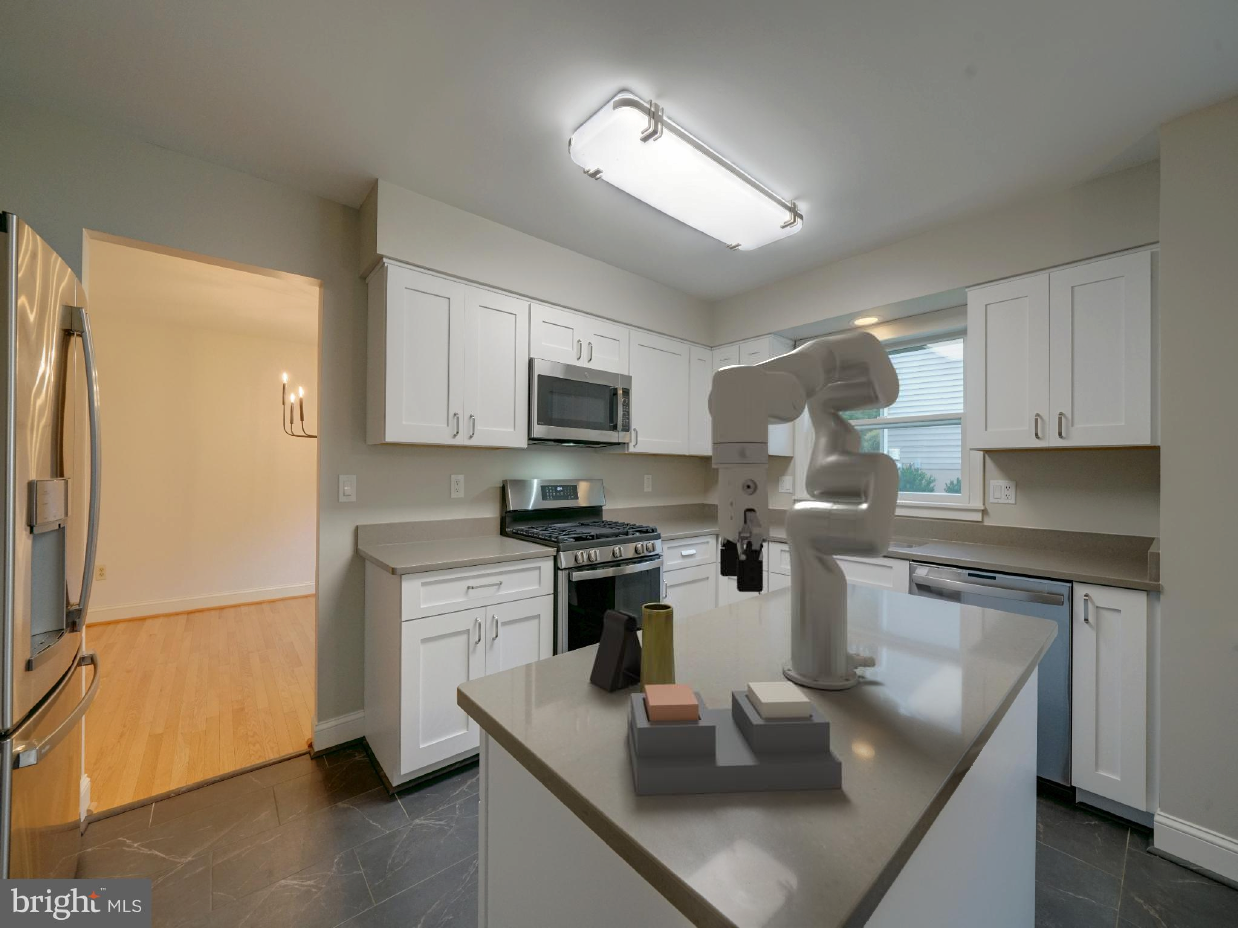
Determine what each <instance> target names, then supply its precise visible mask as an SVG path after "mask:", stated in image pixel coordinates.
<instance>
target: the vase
mask: <svg viewBox="0 0 1238 928" xmlns="http://www.w3.org/2000/svg"><path fill="white" fill-rule="evenodd" d="M641 607H642V608H641V648H642V658H641V675H640V684H639V689H638V690H639V693H645V685H666V684H676V671H675V667H676V665H675V649H674V607H673V605H671V604H669V603H664V602H650V603H646V604H643V605H642V606H641Z"/></svg>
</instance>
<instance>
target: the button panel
mask: <svg viewBox="0 0 1238 928" xmlns="http://www.w3.org/2000/svg"><path fill="white" fill-rule="evenodd" d="M693 693H694V695H695V698H696V700H697V702H698V704H699V720H686V721H650V722H648V719H647V715H646V711H645V693H640V692H639V693H638V692H635V693H634V692H632V693H631V694H630V711H629V710H627V737H628V745H629V751H630V758H631V765H632V772H633V779H634V780H633V781H634V786H635V792H636V796H655V795H658V796H659V795H681V794H682V795H683V794H684V795H685V794H710V793H713V794H714V793H740V792H741V793H742V792H766V791H767V792H768V791H770V792H771V791H794V790H796V791H797V790H820V789H821V790H822V789H825V790H826V789H842V788H843V772H842V771H843V767H842V766H843V765H842V764H843V762H842V760H840V758H839V757H838V756H837V755H836V753H834V751H833V750H832V749H831V725H830V723H831V722H830V721H829V720H828V719H827V717H825V715H824V714H823V713H821V712H820V710H819V709H818V708H817V707H816V706H815V705H814V704H813V703H812V702H811V701H810V717H794V718H760V716H759V715H758V713H757V712H756V710H755V709H754V708H753V706H752V705H751V703H750V702H749V700H748V690H731V708H708V707H707V705H706V703H705V701H704V698H703V697H702V695H701V693H700V691H693Z"/></svg>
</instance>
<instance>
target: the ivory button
mask: <svg viewBox="0 0 1238 928" xmlns="http://www.w3.org/2000/svg"><path fill="white" fill-rule="evenodd" d="M747 691H748V700H749V702H750V703H751V705H752V706H753V708H754V709H755V710H756V712H757V713H758V715H759V716H760V718H794V717H810V702H811V701H810V700H809V699H808V697H807V696H806V695H804V694H803V692H802V691H800V689H799V688H798V687H797V686H796V685H795V684H794V682H793V681H761V682H759V681H755V682H752V681H751V682H747Z"/></svg>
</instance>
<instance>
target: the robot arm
mask: <svg viewBox="0 0 1238 928" xmlns="http://www.w3.org/2000/svg"><path fill="white" fill-rule="evenodd" d="M899 395H900V380H899V376H898V372H897V371H896V368H895V366H894V365H893V362H892V360H891V358H890V357H889V354H888V352H887V350H886V349H885V346H884V345H883V343H882V342H881V341H880V340H879V338H877V337H876V336H875V335H874V334H872V333H871V332H868V331H857V332H855V331H854V332H851V333H844V334H838V335H831V336H826V337H820V338H817V339H814V340H810V341H809V342H806V343H805V344H803V345H801V346H799V347H797V348H796V349H793V350H792V351H790V352H788V353H787V354H782V355H780V356H776V357H773V358H771V359H768V360H766V361H762V362H759V363H757V364H754V365H752V364H751V365H749V364H740V365H739V364H738V365H730V366H725V367H722V368H719V369H717V370H716V371H715V372H714V374H713V376H712V380H711V388H710V392H709V394H708V398H707V409H708V413H709V416H710V417H711V468H712V469H718V481H717V484H718V486H717V488H718V490H717V491H718V493H717V527H718V533H719V535H720V536H721V539H720V542H719V543H720V549H719V551H720V553H719V555H720V556H719V560H720V562H719V564H720V565H719V567H720V568H719V570H720V571H719V575H720V576H721V577H736V590H737V591H738V592H740V593H761V592H763V590H764V552H763V548H764V544H765V543H766V544H767V543H768V542H769V540H770V539H771V538H770V537H771V535H770V533H771V530H770V508H769V491H768V483H767V482H768V481H767V475H766V469H768V468H769V426H773V425H775V426H776V425H777V426H778V425H784V424H789V423H792V422H794V421H796V420H797V419H799V418H800V417H801V416H802V414H803V413H804V411H805V409H806V406H807V412H808V415H809V418H810V420H811V421H810V422H811V424H812V428H813V432H814V443H813V447H812V451H811V453H810V454H811V455H810V458H809V462H808V466H807V470H806V474H805V481H804V489H805V492H806V493H807V495H808V496H809V497H810V498H811V499H813V500H804V501H803V500H802V501H799V502H796V503H795V504H793V505H791V506H790V507H789V508H788V509H787V512H786V515H785V516H784V529H785V531H784V532H785V537H786V542H787V547H788V548H787V549H788V554H789V565H790V567H789V568H790V655H791V656H790V659H787V660H785V662H783V663H782V666H781V667H782V673H783V675H784V676H785V677H786V678H787V679H789V680H790V681H791V682H793V683H796V684H799V685H802V686H805V687H809V688H814V689H818V690H833V691H834V690H835V691H838V690H845V689H849V688H852V687H855V686H856V684H857V683H858V673H857V672H856V671H855V670H858V669H859V668H874V667H875V666H876V660H875V658H874V656H873V655H861V654H860V653H859V652H850V651H848V650H849V649H848V643H849V642H848V582H847V576H846V574H845V572H844V570H843V568H842V567H841V566H840V564H839V562H837V560H836V559H835V558H834V557H835V556H836V557H837V556H841V557H850V558H858V559H879V558H882V557H883V556H885V555H886V554H887V553H888V551H889V549H890V547H891V541H892V538H893V531H894V524H895V516H896V510H897V504H898V496H899V490H900V489H899V488H900V486H899V485H900V473H899V468H898V464H897V463H896V461H895V459H894V458H893V457H891V456H890V455H888V454H887V453H884V452H877V451H874V452H873V451H868V452H867V451H866V452H865V451H864V452H863V451H862V452H861V447H862V437H861V435H860V433H859V431H858V430H857V429H856V428H855V426H854V425H853V424H852V423H851V422H850V421H849V420H848V419H846V418H845V417H843V415H842V414H841V412H843V413H844V412H845V413H846V412H859V411H871V410H872V411H873V410H882V409H887V408H889V407H891V406H893V404H895V403H896V401H897V400H898V398H899Z"/></svg>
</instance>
